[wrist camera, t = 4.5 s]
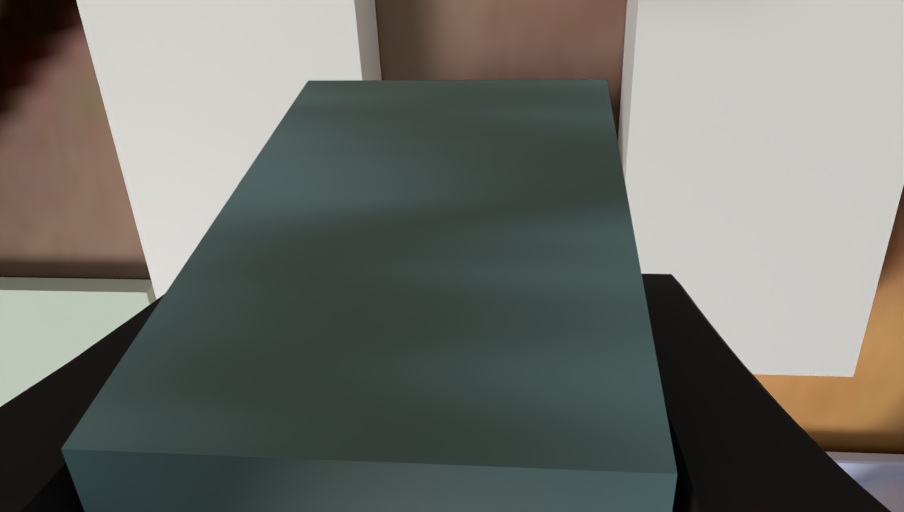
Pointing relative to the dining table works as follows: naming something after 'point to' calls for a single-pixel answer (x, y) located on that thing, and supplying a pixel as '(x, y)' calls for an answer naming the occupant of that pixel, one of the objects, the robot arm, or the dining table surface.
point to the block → (400, 321)
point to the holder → (639, 139)
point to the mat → (59, 322)
